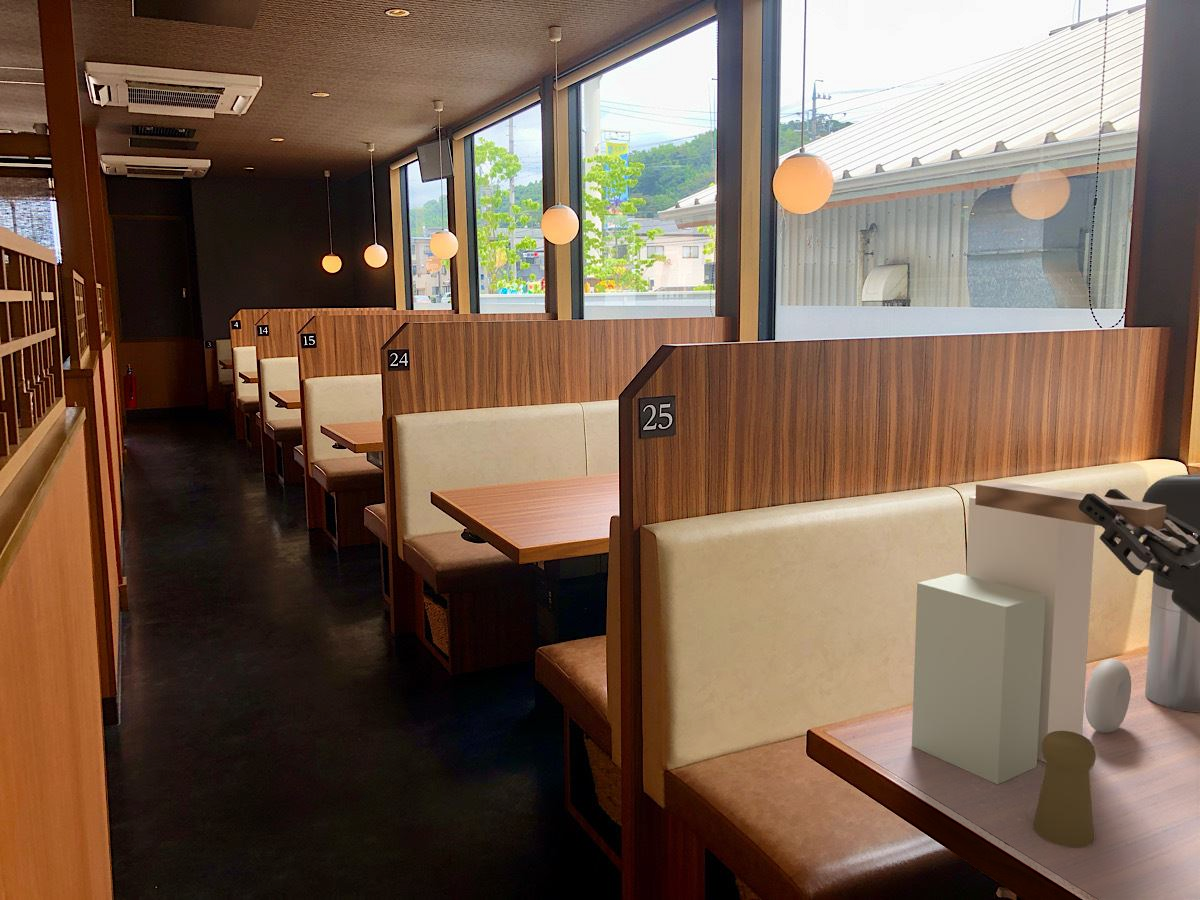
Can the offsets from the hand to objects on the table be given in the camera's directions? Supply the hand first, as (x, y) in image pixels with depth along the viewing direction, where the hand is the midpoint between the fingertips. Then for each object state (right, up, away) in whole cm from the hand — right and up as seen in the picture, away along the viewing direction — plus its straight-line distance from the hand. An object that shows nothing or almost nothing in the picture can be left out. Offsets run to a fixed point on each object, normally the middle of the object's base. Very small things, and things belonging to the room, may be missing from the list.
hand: (1096, 497), depth 102 cm
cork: (-4, -36, -2) cm, 37 cm away
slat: (-2, -2, +3) cm, 4 cm away
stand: (-3, -33, +19) cm, 39 cm away
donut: (+14, -33, +23) cm, 42 cm away
